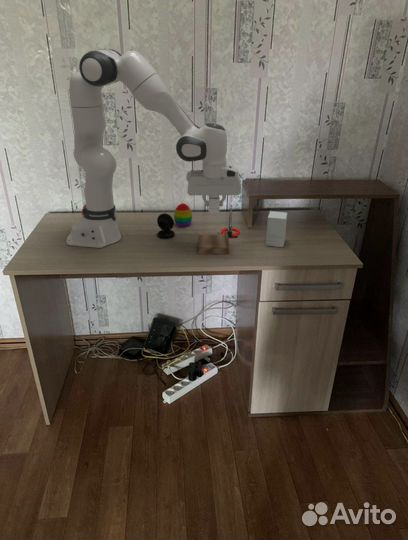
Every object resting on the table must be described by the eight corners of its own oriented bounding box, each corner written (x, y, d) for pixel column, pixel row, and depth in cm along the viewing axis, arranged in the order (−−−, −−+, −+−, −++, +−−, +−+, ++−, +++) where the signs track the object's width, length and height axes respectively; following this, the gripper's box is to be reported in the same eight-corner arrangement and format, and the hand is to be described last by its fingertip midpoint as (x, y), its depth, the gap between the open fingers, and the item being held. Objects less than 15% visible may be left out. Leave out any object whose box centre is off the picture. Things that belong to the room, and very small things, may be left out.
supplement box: (285, 240, 171) (288, 212, 165) (283, 247, 165) (286, 218, 159) (267, 238, 173) (270, 210, 167) (265, 245, 167) (267, 217, 160)
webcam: (153, 236, 174) (152, 215, 169) (162, 230, 180) (161, 209, 175) (169, 240, 171) (168, 218, 166) (178, 233, 177) (177, 212, 172)
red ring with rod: (222, 229, 182) (219, 237, 174) (223, 201, 176) (220, 208, 168) (240, 230, 181) (239, 238, 173) (242, 202, 175) (240, 209, 167)
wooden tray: (198, 254, 160) (198, 243, 158) (198, 241, 170) (198, 231, 168) (228, 254, 160) (229, 243, 158) (227, 241, 170) (227, 231, 168)
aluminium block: (208, 213, 155) (209, 199, 152) (208, 208, 160) (208, 194, 157) (219, 213, 155) (219, 198, 152) (218, 208, 160) (218, 194, 157)
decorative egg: (188, 228, 181) (188, 207, 176) (171, 226, 183) (170, 205, 178) (194, 222, 188) (194, 201, 183) (177, 220, 190) (177, 199, 185)
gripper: (186, 172, 147) (186, 208, 153) (242, 172, 147) (240, 208, 154) (186, 167, 152) (187, 202, 159) (240, 167, 152) (239, 202, 159)
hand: (213, 205), depth 156 cm, fingers closed on aluminium block, 4 cm apart
